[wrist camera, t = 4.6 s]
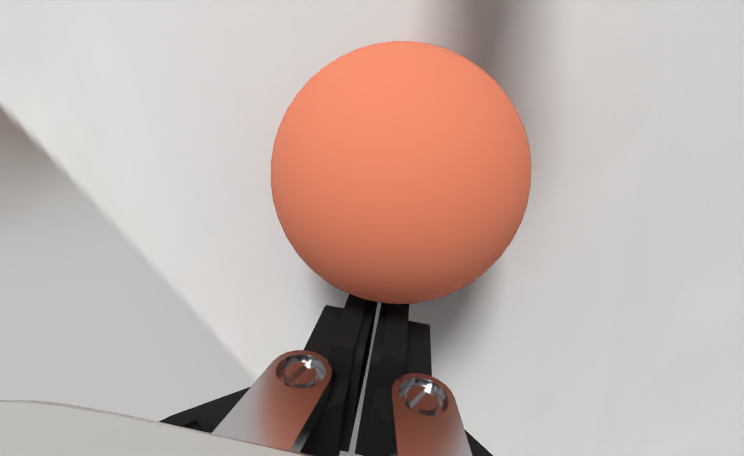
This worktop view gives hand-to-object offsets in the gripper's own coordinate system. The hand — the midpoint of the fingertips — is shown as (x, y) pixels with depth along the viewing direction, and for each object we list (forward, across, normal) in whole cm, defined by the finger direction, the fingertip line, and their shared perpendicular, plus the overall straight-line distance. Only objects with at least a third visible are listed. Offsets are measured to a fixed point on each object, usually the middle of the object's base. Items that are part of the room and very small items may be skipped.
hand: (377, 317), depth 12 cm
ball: (-1, 0, -5) cm, 5 cm away
